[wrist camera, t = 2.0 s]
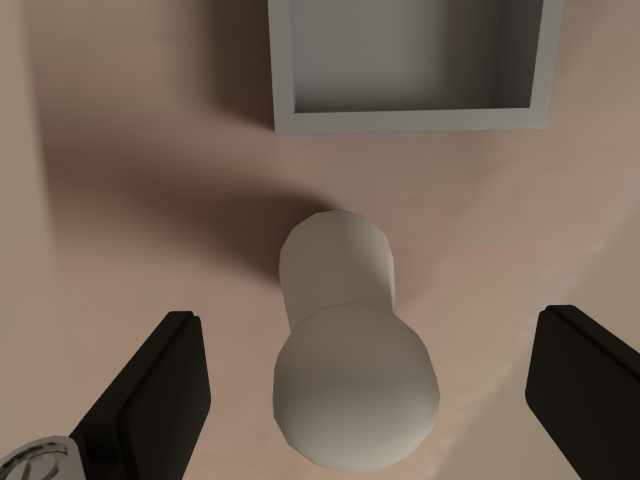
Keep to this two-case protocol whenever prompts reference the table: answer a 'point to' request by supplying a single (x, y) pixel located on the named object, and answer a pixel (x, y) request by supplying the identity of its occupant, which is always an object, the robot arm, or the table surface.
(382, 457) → the salt shaker
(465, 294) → the table surface
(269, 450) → the table surface
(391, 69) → the tray
